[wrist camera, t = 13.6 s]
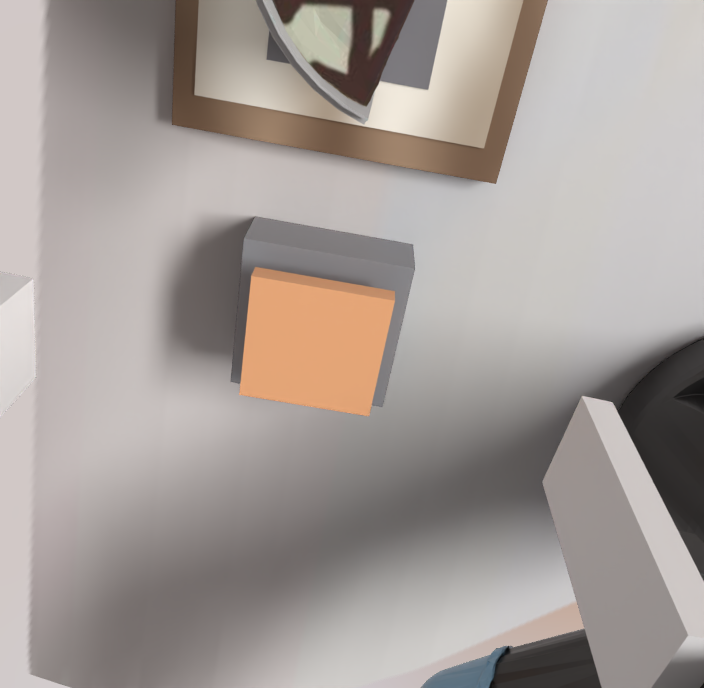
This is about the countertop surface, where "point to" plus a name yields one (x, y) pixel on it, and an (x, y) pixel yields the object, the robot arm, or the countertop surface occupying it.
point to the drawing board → (390, 95)
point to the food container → (338, 45)
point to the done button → (314, 341)
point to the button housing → (326, 274)
